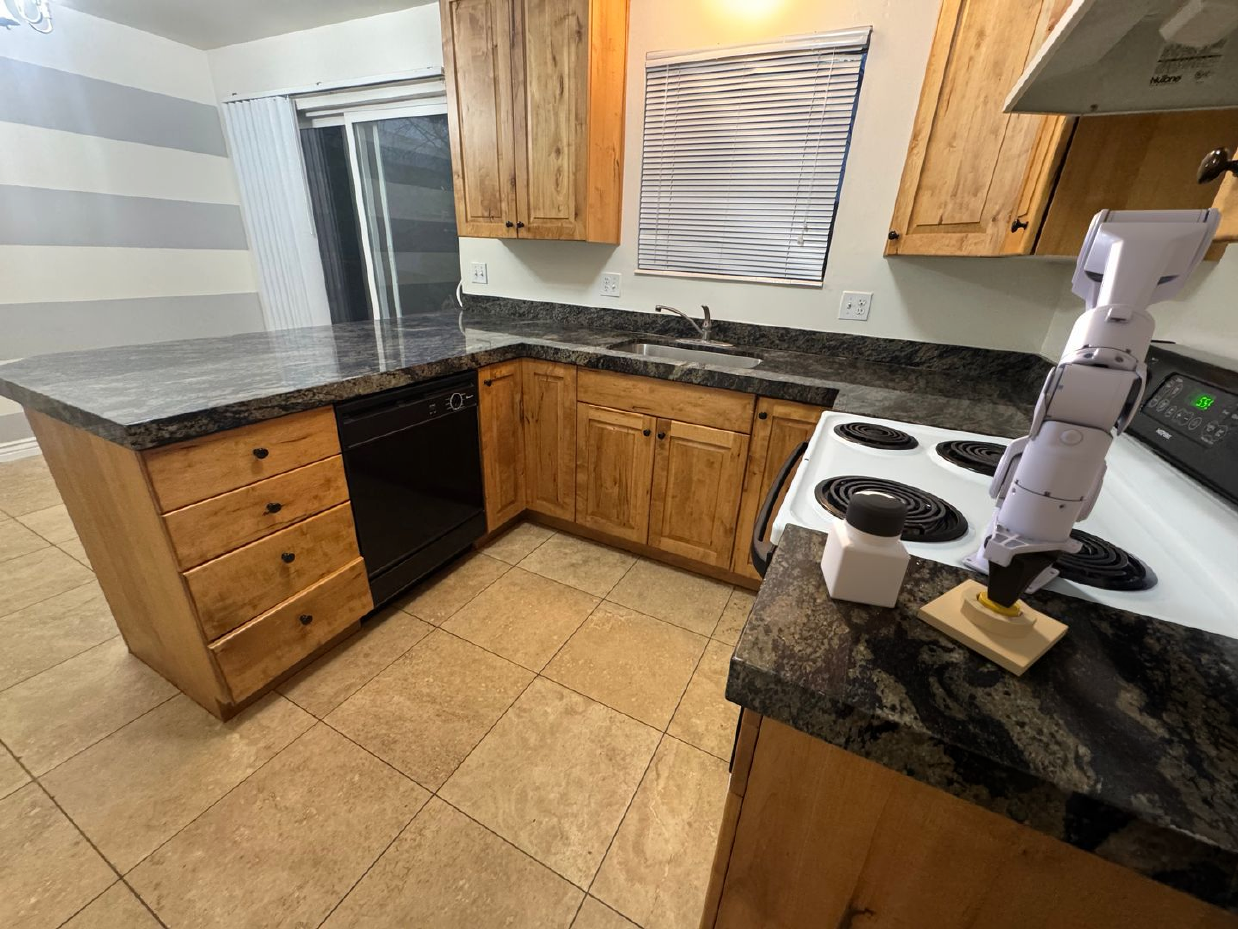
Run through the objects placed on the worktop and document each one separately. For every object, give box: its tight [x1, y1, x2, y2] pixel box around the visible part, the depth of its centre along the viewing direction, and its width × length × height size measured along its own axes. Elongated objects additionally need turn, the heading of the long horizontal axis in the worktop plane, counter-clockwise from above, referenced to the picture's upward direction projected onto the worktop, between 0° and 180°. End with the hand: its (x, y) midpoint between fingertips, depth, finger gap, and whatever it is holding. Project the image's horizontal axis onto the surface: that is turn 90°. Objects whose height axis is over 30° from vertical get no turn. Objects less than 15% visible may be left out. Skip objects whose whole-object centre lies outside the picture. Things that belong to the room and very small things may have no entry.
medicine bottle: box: [820, 490, 912, 609], centre depth 58 cm, size 7×7×12 cm
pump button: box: [978, 591, 1020, 617], centre depth 54 cm, size 4×4×2 cm
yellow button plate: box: [916, 578, 1069, 677], centre depth 55 cm, size 12×10×3 cm
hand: (999, 601), depth 54 cm, fingers closed, pressing on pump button
